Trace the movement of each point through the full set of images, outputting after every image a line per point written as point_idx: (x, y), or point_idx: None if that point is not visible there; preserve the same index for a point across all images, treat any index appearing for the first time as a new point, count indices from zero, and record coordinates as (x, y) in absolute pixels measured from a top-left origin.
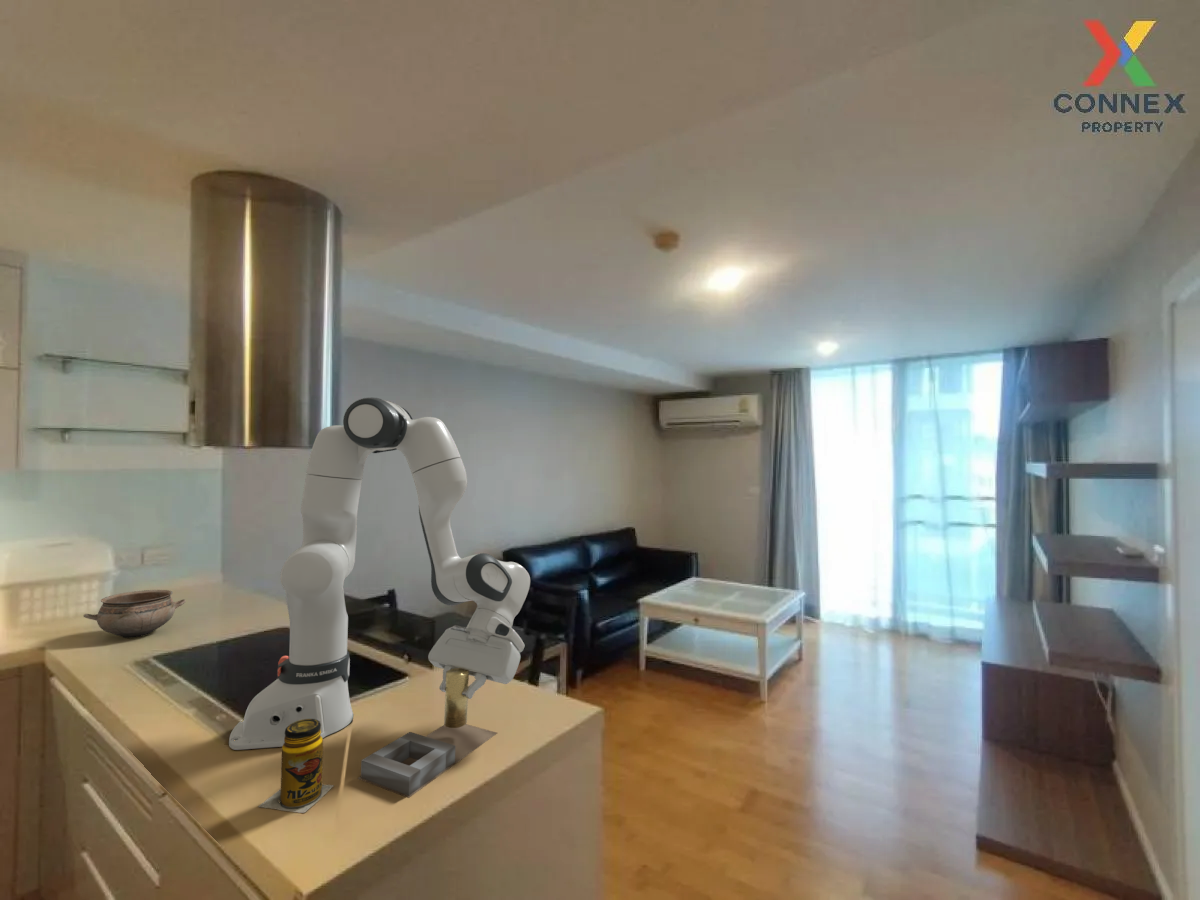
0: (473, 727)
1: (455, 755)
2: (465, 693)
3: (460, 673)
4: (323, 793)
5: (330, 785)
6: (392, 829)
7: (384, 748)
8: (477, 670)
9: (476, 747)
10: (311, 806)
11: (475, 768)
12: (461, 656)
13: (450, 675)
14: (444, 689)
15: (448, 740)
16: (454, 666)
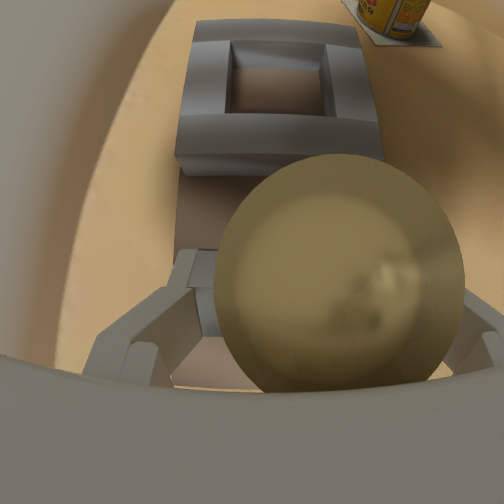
0: None
1: (207, 203)
2: (201, 249)
3: (296, 268)
4: (367, 29)
5: (381, 44)
6: (180, 17)
7: (359, 68)
8: (111, 384)
9: None
10: (348, 8)
11: (136, 207)
12: (483, 485)
13: (351, 161)
14: None
15: None
16: (469, 373)
